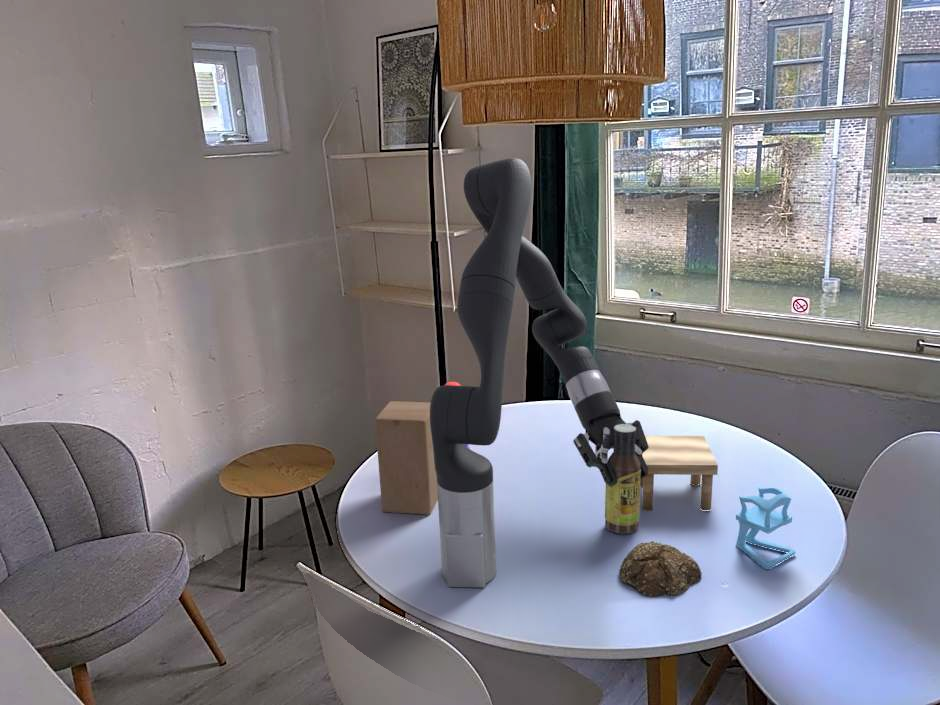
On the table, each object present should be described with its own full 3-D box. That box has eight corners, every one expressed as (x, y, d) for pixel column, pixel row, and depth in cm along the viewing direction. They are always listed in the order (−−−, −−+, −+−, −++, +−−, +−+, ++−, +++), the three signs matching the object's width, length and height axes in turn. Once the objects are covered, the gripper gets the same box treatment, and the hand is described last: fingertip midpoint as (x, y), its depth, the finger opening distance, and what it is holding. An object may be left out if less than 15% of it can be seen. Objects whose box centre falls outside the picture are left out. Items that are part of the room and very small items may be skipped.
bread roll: (645, 548, 138) (645, 523, 137) (709, 573, 130) (711, 547, 128) (603, 579, 129) (603, 553, 128) (670, 608, 121) (671, 580, 120)
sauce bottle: (623, 540, 141) (624, 438, 135) (597, 526, 145) (597, 428, 140) (646, 528, 144) (649, 428, 138) (621, 515, 149) (622, 418, 143)
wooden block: (430, 516, 152) (424, 420, 146) (381, 512, 154) (374, 418, 148) (442, 492, 161) (437, 401, 156) (396, 489, 163) (389, 400, 158)
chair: (755, 536, 140) (758, 475, 137) (796, 555, 133) (801, 492, 130) (726, 550, 136) (730, 487, 133) (767, 570, 129) (772, 505, 126)
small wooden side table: (715, 513, 149) (717, 465, 146) (640, 512, 150) (641, 464, 147) (701, 480, 162) (703, 435, 159) (633, 479, 163) (634, 435, 161)
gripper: (567, 397, 141) (604, 481, 134) (632, 383, 147) (671, 463, 140) (552, 415, 147) (587, 497, 141) (615, 401, 153) (651, 479, 146)
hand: (629, 480), depth 140 cm, fingers closed on sauce bottle, 6 cm apart
